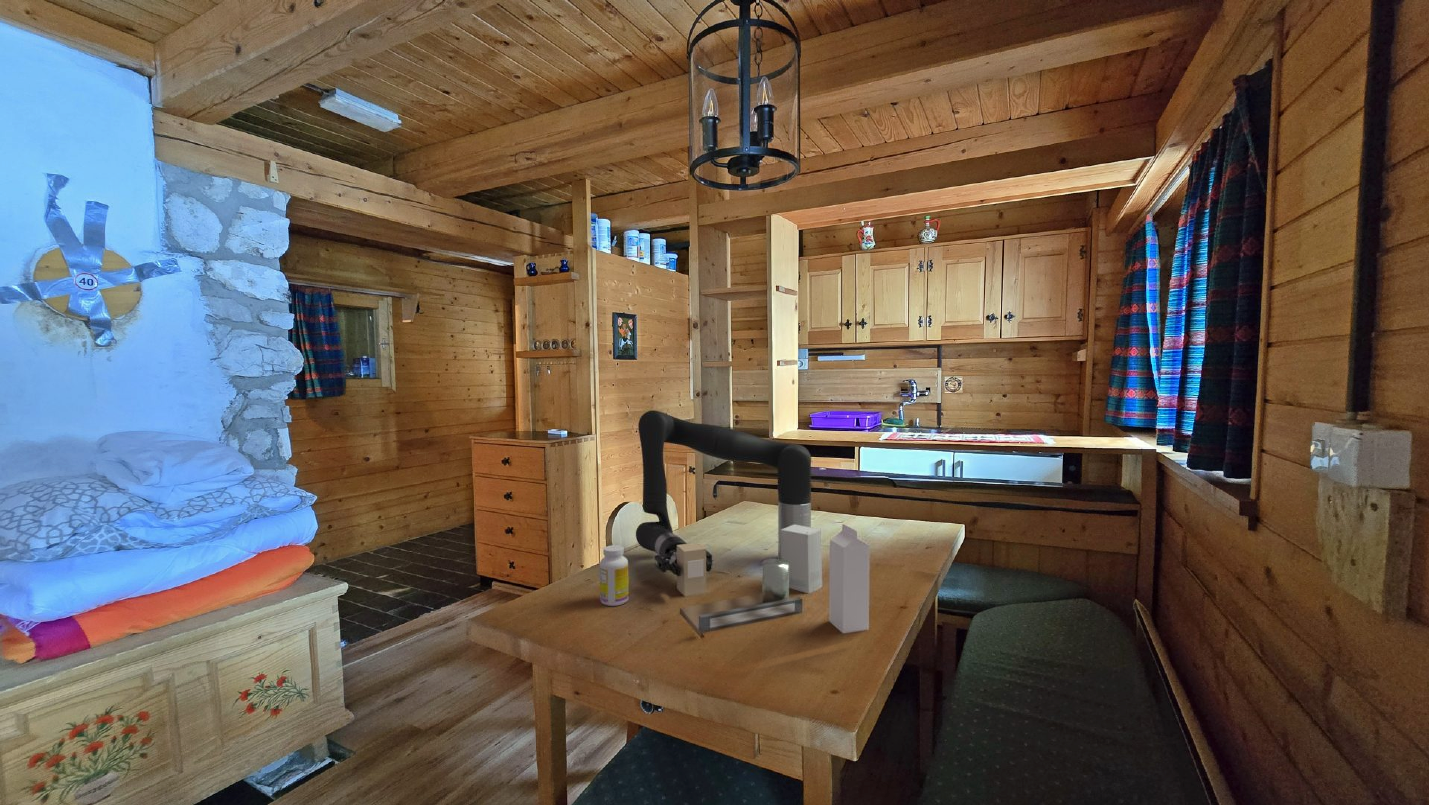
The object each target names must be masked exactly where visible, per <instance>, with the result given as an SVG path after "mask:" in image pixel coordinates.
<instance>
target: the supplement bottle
mask: <svg viewBox="0 0 1429 805" xmlns="http://www.w3.org/2000/svg"><path fill="white" fill-rule="evenodd" d="M624 549H625V548H624V546H623V545H618V544H615V545H613V544H611V545H608V546H605V547H603V555H604V557H603V558H601V560H600V562H599V597H600V602H601V604H602V605H605V606H607V607H608V606H609V607H610V606H611V607H613V606H614V607H615V606H622V605H624V604H626V603H627V602H628V601H629V598H630V597H629V594H630V589H629V560H628V559H627V557H626V556H624V552H625V551H624Z"/></svg>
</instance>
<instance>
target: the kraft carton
mask: <svg viewBox="0 0 1429 805" xmlns="http://www.w3.org/2000/svg"><path fill="white" fill-rule="evenodd" d="M706 550H707V548H706V547H704V546H703V545H702V544H701V543H699V542H698V541H697V542H691V543H690V542H689V543H687V544H682V545H677V564H678V565H679V566H680V568H681V576H677V575H676V588H677V589H676V590H678V591H679V592H680V594H682V595H683V597H690V596H696V595H697V596H698V595H702V594H707V571H706Z"/></svg>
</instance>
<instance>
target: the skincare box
mask: <svg viewBox="0 0 1429 805" xmlns="http://www.w3.org/2000/svg"><path fill="white" fill-rule="evenodd" d="M811 527H812V526H811ZM811 527H806V526H800V525H795V524H794V525H791V526H789V527H787V528H784V529H781V530H780V536H781V559H782V560H786V561H788V562H789V563H790V569H789V589H791V590H796V591H798V592H802V593H805V594H811V593H814V592H815V591H817V590H820V589H821V588H823V569H822V568H823V566H822V565H823V562H822V560H823V559H822V529H821V528H815V527H812V528H811Z"/></svg>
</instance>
